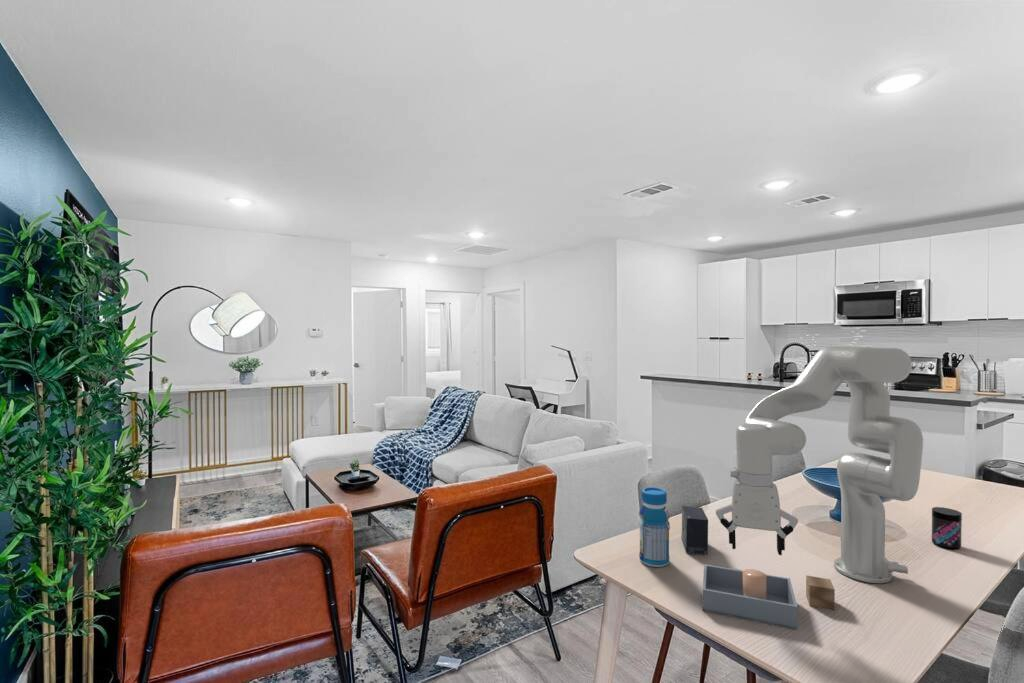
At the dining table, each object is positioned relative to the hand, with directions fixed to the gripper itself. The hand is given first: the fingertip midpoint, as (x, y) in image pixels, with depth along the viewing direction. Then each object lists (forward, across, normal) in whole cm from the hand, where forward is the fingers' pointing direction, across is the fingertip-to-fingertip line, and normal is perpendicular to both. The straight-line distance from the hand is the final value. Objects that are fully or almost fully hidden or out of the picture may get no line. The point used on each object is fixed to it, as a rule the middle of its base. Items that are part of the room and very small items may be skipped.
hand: (756, 549), depth 116 cm
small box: (+14, -15, +28) cm, 35 cm away
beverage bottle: (+13, -25, +14) cm, 32 cm away
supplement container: (+16, +54, +56) cm, 79 cm away
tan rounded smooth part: (+13, -1, -1) cm, 13 cm away
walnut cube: (+14, +14, +7) cm, 21 cm away
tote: (+13, -2, -1) cm, 13 cm away
